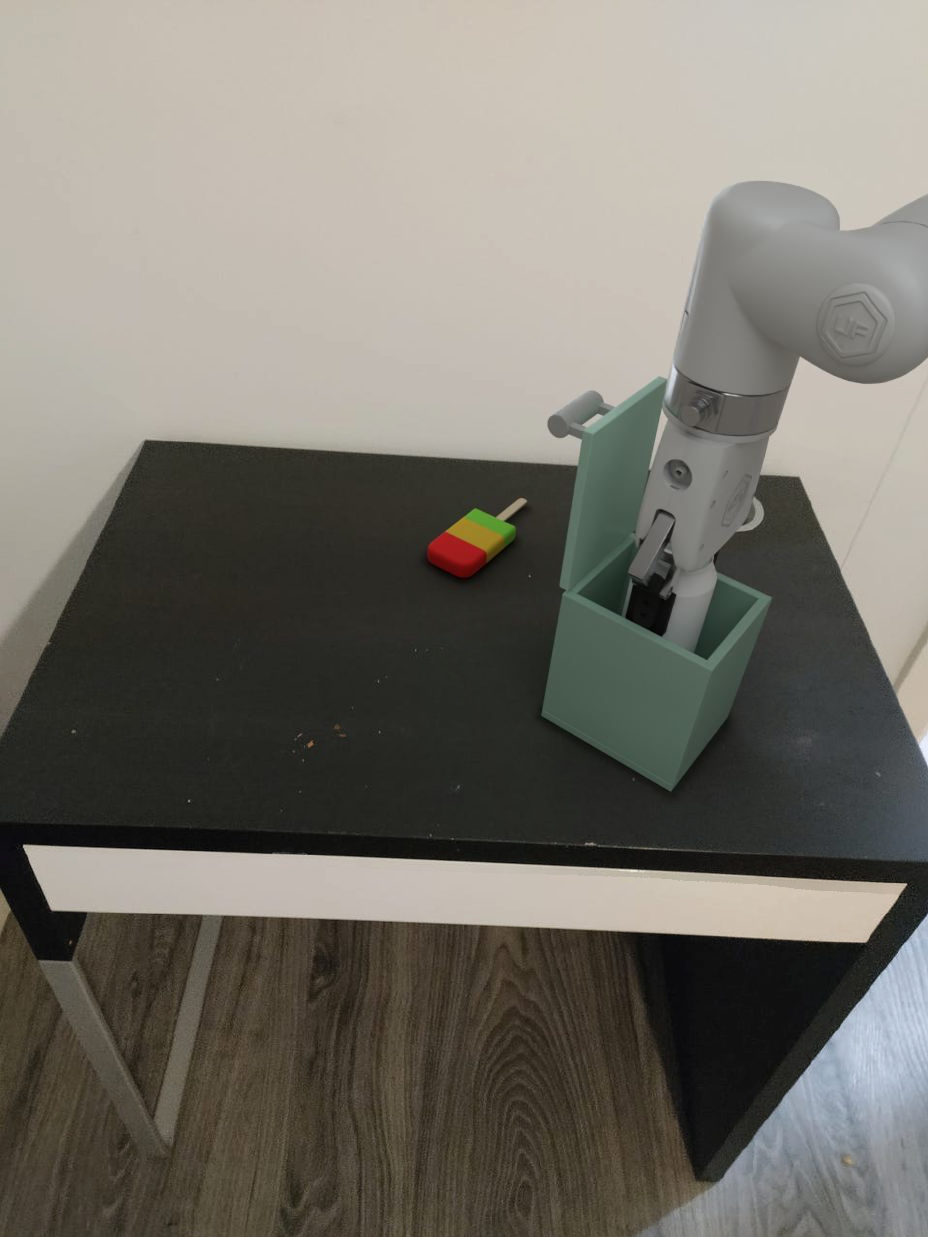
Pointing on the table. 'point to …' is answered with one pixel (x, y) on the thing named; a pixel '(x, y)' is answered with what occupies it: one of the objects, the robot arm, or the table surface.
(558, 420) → the lid
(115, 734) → the table surface
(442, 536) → the popsicle
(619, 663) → the pale green hollow box
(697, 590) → the beverage can
